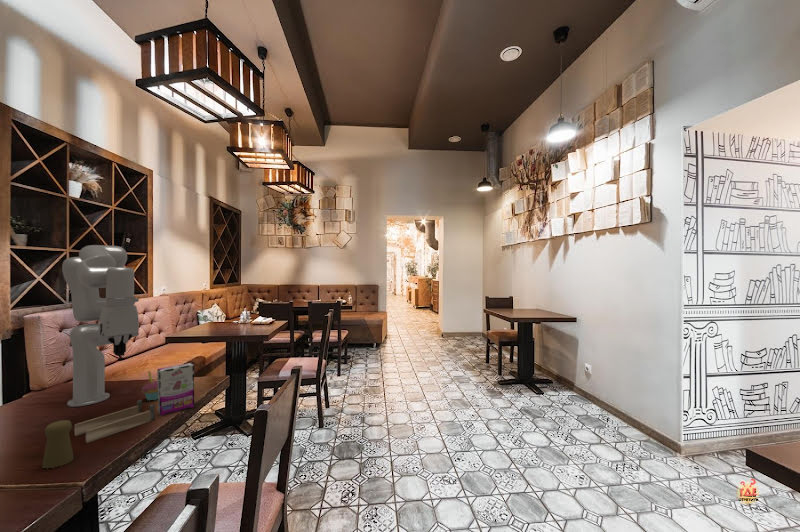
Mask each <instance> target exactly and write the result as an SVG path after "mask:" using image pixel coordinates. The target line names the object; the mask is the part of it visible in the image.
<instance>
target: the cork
mask: <svg viewBox="0 0 800 532" xmlns="http://www.w3.org/2000/svg"><path fill="white" fill-rule="evenodd" d="M72 427H73V425H72V422H71V421H70V420H68V419H67V420H66V419H64V420H63V419H62V420H57V421H55V422H51V423H49V424H48V425H47V426H46V427H45V428H44V435H45V437H46V444H45V448H44V455H43V460H42V465H41V469H42V468H47V469H46V470H49V469H48V468H52V469H56V468H55V467H57V468H59V467H58V466H60V467H62V465H63V466H65V465H68V464H69V463H71V462H72V461H73V460H74V453H73V448H72V443H71V436H70V431H71V430H72ZM64 464H65V465H64Z"/></svg>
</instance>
